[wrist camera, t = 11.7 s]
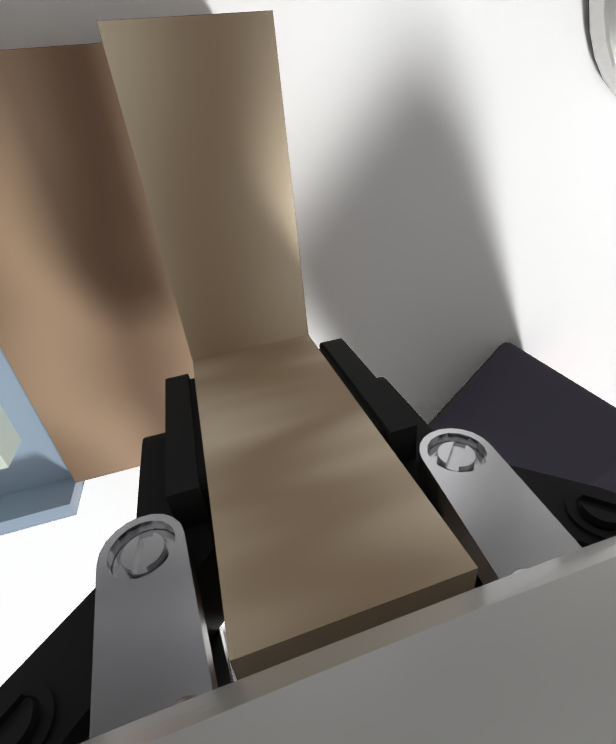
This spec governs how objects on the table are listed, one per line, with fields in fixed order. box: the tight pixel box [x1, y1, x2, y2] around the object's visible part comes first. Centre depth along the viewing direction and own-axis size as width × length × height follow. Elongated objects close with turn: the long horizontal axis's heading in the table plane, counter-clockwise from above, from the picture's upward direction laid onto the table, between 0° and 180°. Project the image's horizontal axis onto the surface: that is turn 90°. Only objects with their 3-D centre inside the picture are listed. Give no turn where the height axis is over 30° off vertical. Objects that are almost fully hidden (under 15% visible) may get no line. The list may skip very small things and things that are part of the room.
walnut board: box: [0, 43, 195, 483], centre depth 19 cm, size 12×18×2 cm, turn 5°
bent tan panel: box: [97, 10, 478, 680], centre depth 9 cm, size 3×16×10 cm, turn 5°
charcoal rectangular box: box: [428, 343, 616, 493], centre depth 24 cm, size 11×4×15 cm, turn 140°
